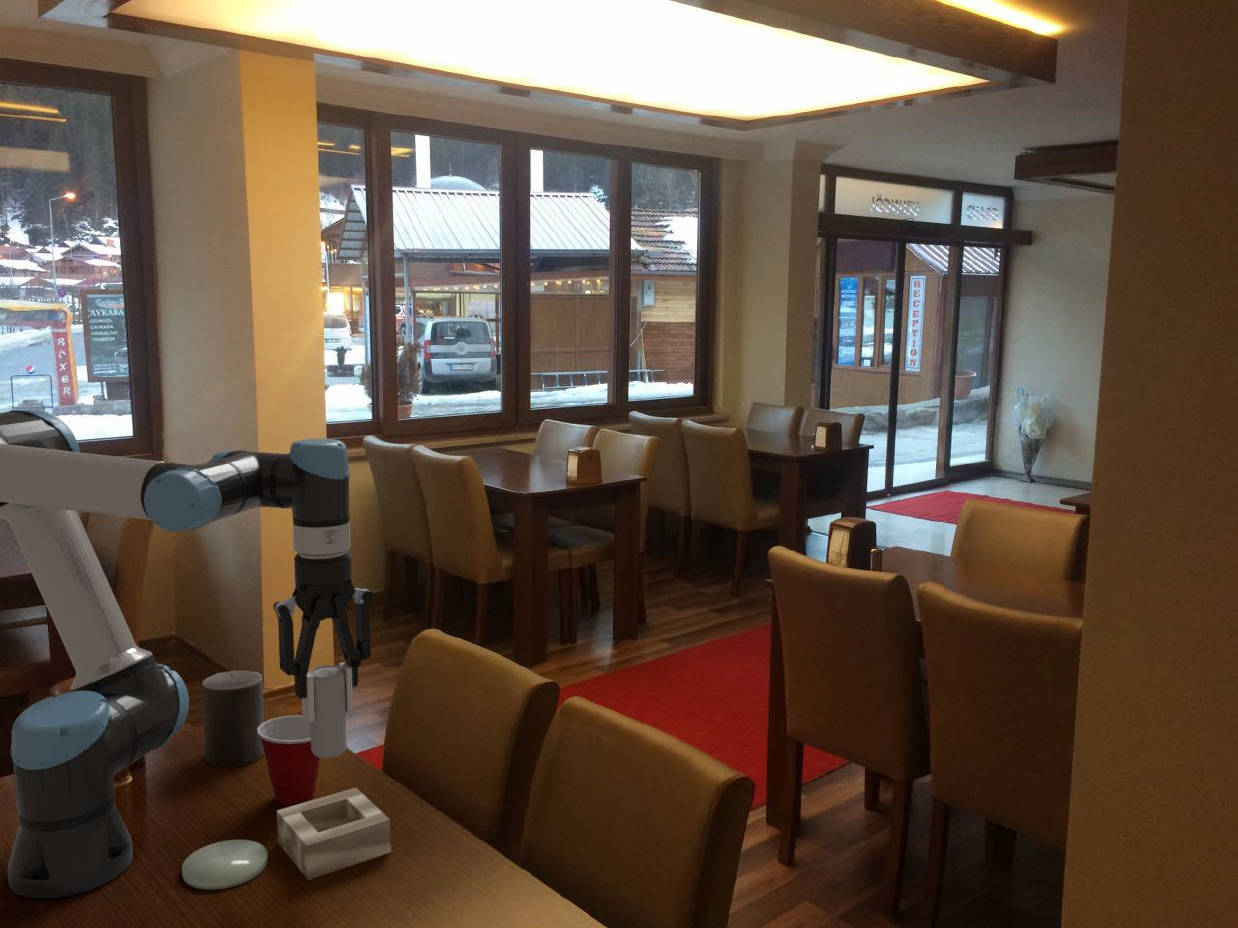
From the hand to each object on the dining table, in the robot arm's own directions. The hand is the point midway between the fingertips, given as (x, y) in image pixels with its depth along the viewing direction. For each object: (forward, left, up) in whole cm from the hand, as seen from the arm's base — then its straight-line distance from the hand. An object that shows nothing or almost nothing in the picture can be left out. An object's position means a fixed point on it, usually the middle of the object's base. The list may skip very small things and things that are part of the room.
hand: (327, 713), depth 143 cm
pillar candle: (-39, -2, -21) cm, 44 cm away
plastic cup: (-18, +1, -21) cm, 27 cm away
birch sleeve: (0, 0, -20) cm, 20 cm away
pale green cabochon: (-4, -14, -20) cm, 25 cm away
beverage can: (0, 0, -6) cm, 6 cm away
